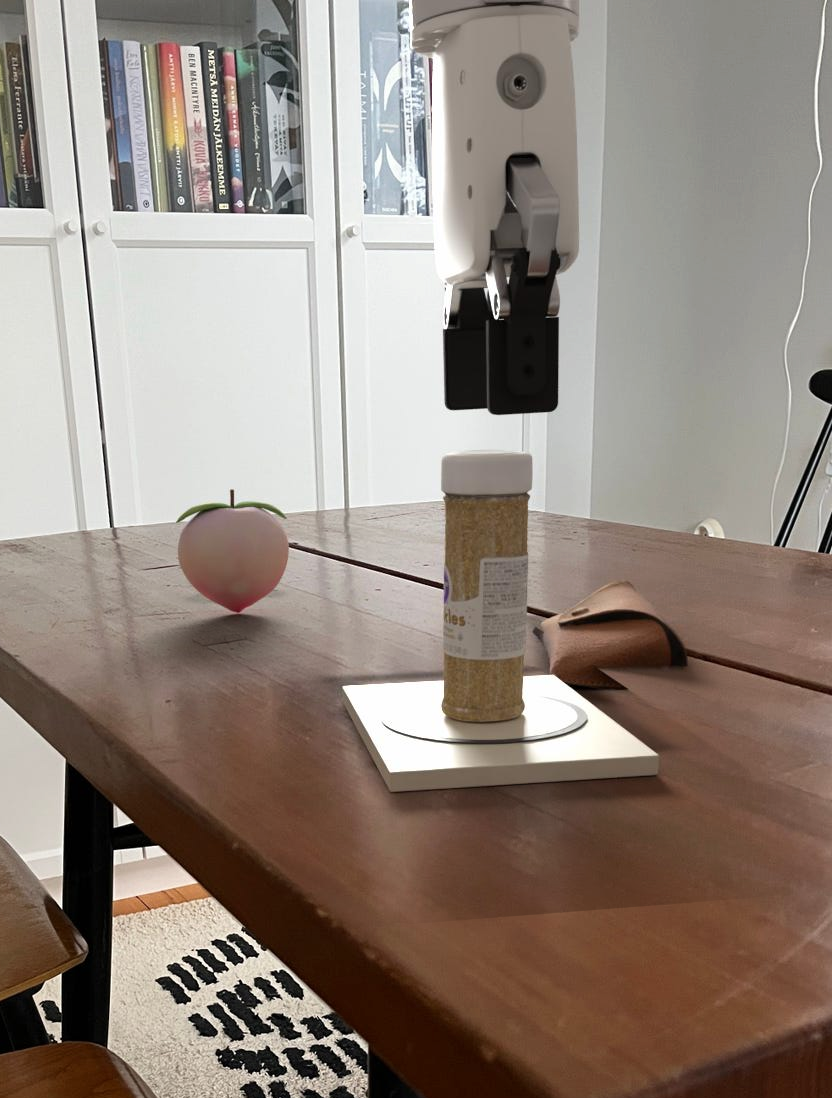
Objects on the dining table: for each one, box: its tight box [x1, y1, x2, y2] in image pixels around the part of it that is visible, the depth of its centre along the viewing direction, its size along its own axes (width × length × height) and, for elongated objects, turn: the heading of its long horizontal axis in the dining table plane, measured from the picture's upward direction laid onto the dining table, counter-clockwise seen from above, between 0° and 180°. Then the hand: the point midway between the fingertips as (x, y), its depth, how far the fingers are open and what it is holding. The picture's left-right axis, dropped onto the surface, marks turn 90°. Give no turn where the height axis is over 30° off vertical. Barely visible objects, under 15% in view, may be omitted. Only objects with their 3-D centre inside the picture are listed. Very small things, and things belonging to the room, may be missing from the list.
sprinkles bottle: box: [440, 449, 534, 722], centre depth 65 cm, size 5×5×14 cm
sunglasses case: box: [532, 579, 689, 690], centre depth 84 cm, size 18×7×7 cm
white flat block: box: [341, 674, 660, 793], centre depth 68 cm, size 13×18×1 cm
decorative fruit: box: [176, 488, 290, 614], centre depth 104 cm, size 9×8×10 cm
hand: (497, 410), depth 62 cm, fingers open, 9 cm apart
